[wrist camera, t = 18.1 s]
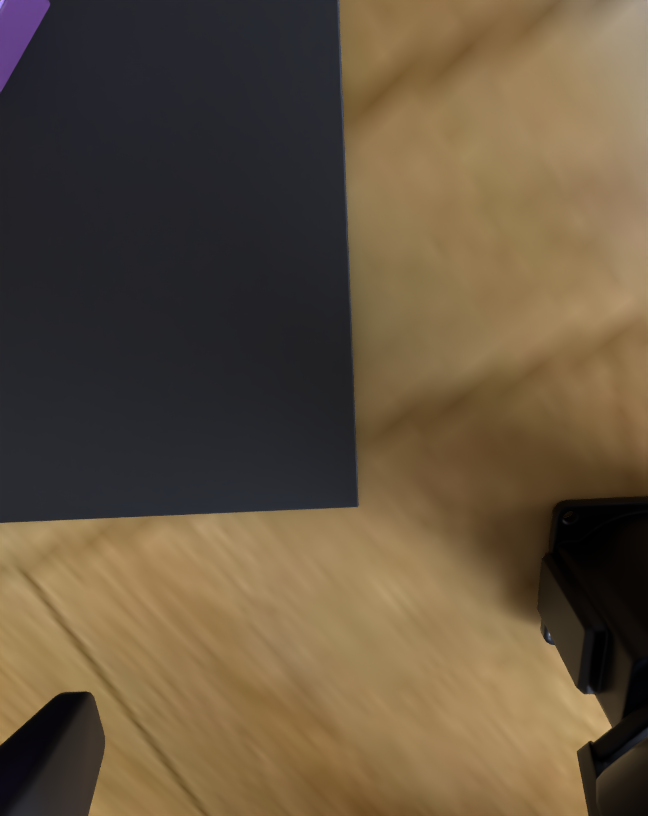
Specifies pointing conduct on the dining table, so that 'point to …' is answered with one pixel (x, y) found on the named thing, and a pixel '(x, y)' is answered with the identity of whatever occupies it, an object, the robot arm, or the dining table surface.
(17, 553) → the dining table surface
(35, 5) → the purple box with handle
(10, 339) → the placemat
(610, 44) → the dining table surface
